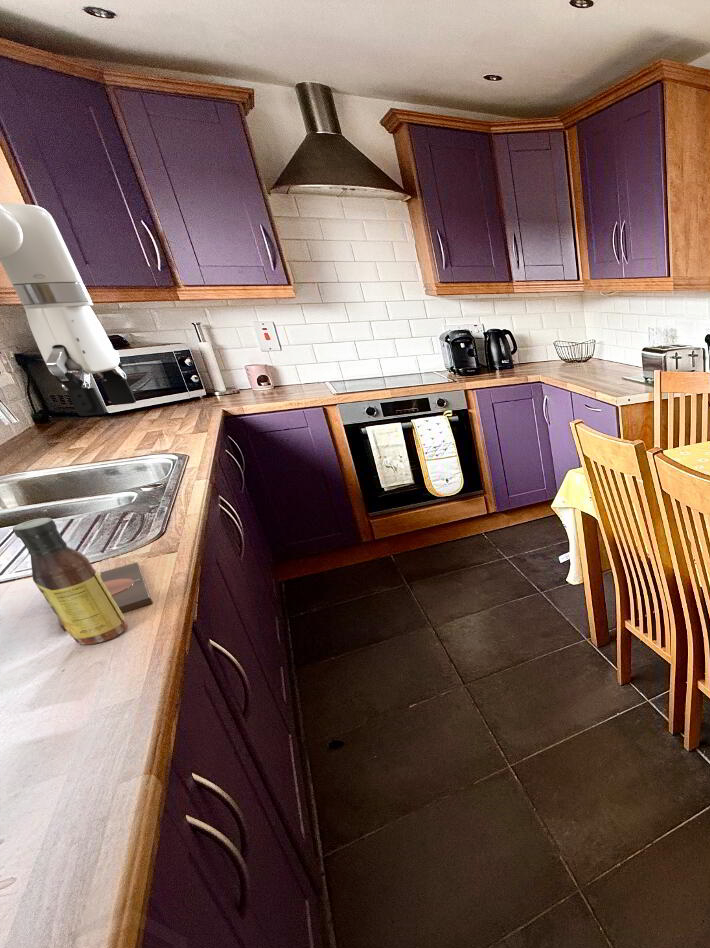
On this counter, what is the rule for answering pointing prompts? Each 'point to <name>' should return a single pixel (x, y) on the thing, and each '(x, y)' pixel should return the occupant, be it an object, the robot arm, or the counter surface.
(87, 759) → the counter surface
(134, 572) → the board
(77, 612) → the sauce bottle
